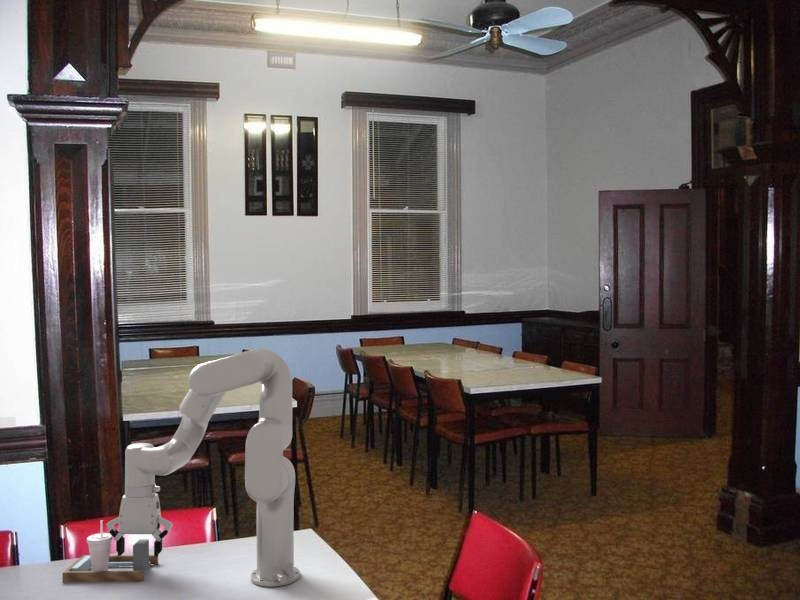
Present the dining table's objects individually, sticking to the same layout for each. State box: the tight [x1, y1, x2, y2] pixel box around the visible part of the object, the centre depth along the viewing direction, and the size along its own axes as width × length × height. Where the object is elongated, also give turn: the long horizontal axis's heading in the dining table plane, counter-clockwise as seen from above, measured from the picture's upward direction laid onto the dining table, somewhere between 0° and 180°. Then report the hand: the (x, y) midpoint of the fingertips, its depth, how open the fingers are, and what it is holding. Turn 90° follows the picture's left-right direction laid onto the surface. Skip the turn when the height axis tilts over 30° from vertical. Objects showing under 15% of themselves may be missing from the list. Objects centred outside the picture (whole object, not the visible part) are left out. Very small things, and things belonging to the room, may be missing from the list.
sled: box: [72, 538, 152, 575], centre depth 193 cm, size 18×9×8 cm, turn 90°
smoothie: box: [86, 519, 113, 571], centre depth 193 cm, size 6×6×14 cm
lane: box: [62, 554, 159, 583], centre depth 193 cm, size 21×12×2 cm, turn 90°
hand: (139, 554), depth 193 cm, fingers open, 9 cm apart
